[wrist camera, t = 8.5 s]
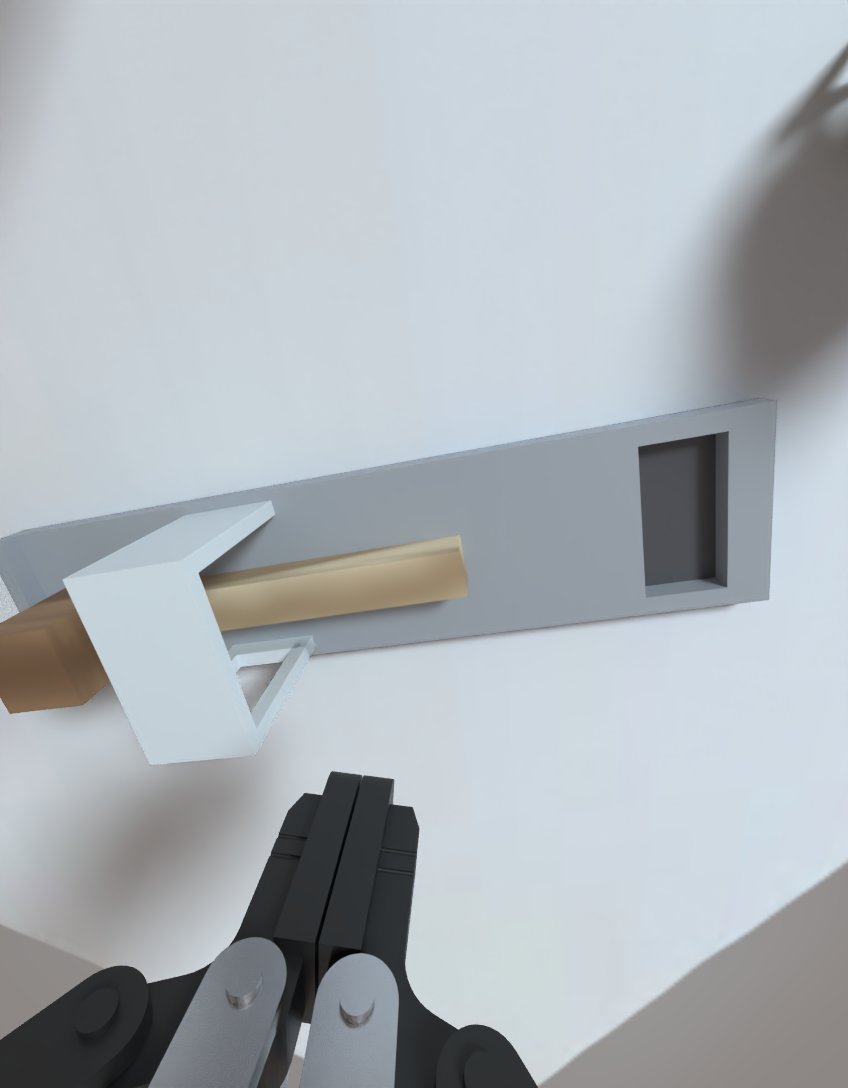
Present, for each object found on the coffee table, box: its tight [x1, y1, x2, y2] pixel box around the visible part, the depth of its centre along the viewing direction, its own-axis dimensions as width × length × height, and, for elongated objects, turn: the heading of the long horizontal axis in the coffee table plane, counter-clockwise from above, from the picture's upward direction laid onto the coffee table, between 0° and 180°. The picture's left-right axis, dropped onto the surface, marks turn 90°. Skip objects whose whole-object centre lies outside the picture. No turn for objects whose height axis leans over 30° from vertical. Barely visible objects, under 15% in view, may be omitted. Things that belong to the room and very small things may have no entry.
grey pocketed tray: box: [0, 398, 777, 765], centre depth 23 cm, size 10×41×10 cm, turn 101°
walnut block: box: [0, 588, 110, 714], centre depth 26 cm, size 4×4×7 cm
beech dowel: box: [200, 535, 468, 631], centre depth 26 cm, size 2×18×2 cm, turn 102°
